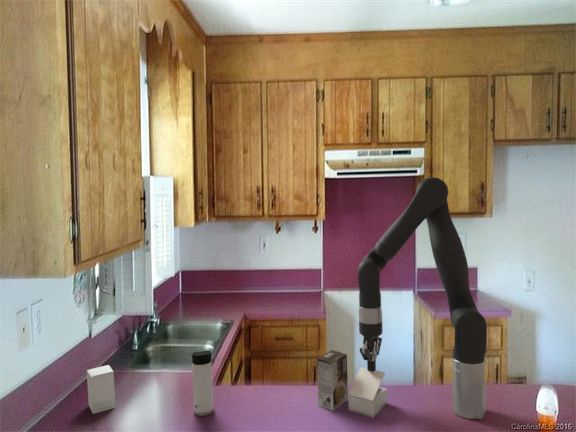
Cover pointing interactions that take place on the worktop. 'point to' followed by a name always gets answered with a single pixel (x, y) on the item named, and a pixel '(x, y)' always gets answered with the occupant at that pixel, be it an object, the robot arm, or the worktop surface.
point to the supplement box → (101, 389)
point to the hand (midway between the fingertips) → (371, 370)
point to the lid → (366, 384)
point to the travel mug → (202, 383)
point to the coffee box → (332, 380)
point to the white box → (368, 404)
